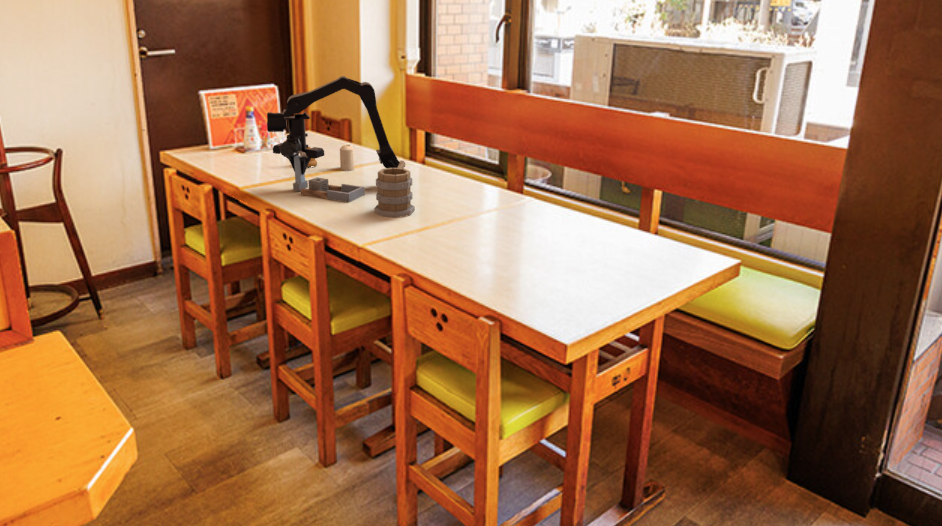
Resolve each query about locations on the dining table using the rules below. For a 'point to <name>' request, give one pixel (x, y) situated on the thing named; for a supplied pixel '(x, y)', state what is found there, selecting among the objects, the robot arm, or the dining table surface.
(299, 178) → the grey notched beam
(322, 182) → the dice cube
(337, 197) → the box
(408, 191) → the tankard
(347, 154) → the candle
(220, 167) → the dining table surface
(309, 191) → the slot rails
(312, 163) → the ornamental finial
